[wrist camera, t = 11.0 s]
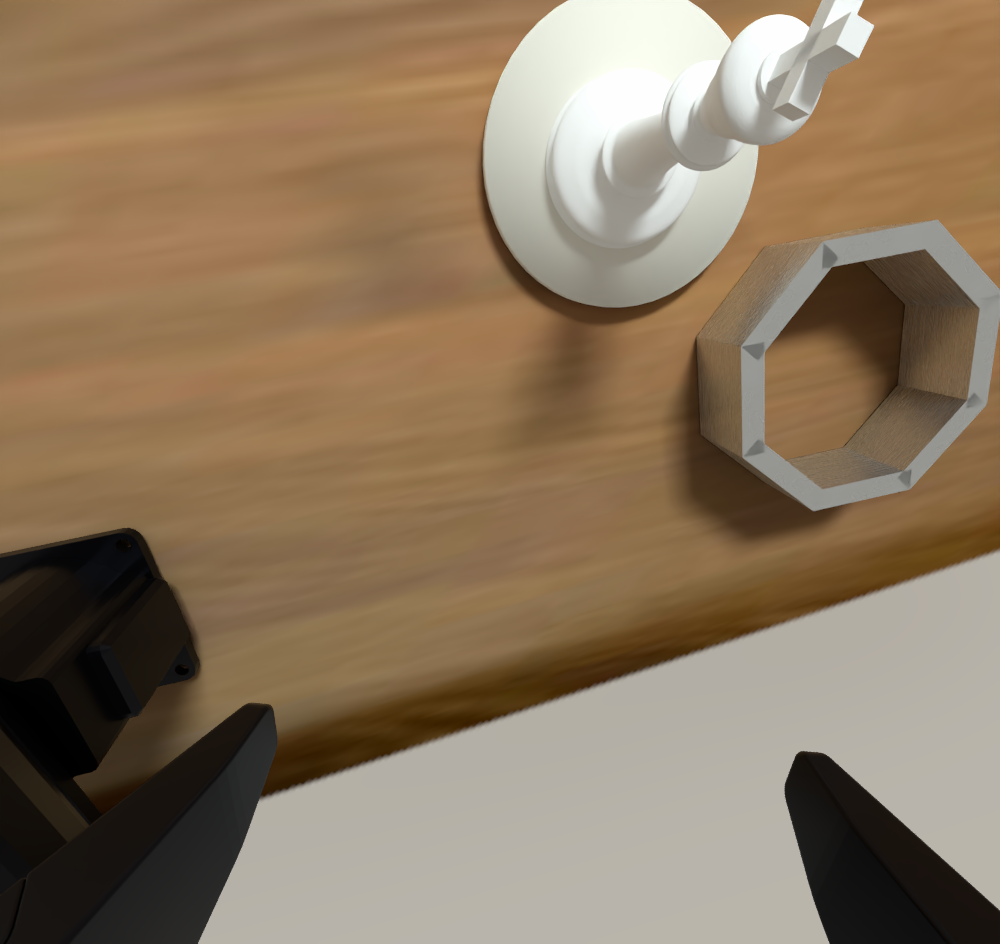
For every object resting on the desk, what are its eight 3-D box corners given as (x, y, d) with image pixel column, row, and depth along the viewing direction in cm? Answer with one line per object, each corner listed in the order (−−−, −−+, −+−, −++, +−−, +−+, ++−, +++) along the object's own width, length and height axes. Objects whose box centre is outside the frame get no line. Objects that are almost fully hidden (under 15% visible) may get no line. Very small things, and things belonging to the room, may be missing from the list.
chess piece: (721, 117, 17) (1072, -69, 8) (654, 271, 19) (889, 265, 9) (583, 41, 16) (807, -280, 7) (521, 212, 17) (640, 137, 8)
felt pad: (507, 328, 19) (510, 330, 19) (456, 17, 16) (458, 7, 16) (749, 281, 20) (759, 282, 19) (747, -27, 17) (758, -37, 16)
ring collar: (703, 496, 23) (743, 527, 20) (693, 259, 19) (739, 257, 17) (909, 450, 23) (976, 474, 20) (932, 215, 20) (1016, 204, 17)
